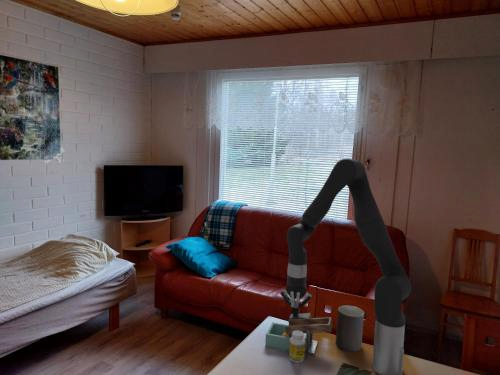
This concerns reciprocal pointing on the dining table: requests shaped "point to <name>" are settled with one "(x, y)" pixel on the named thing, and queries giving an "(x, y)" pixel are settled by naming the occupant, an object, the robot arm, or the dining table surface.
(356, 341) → the pillar candle
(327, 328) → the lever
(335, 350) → the dining table surface
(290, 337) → the ball
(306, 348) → the stand
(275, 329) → the green open box
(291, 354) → the supplement bottle
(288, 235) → the robot arm
